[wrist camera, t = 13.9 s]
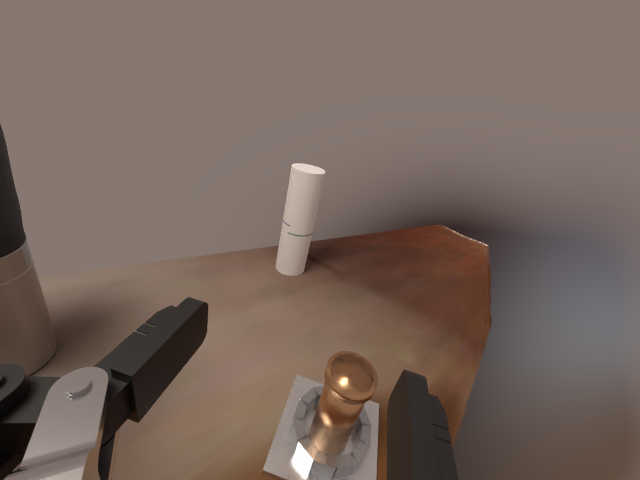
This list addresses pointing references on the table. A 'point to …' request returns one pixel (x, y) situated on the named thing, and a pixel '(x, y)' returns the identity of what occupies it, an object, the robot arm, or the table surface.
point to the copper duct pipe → (342, 400)
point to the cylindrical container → (299, 218)
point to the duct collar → (304, 457)
